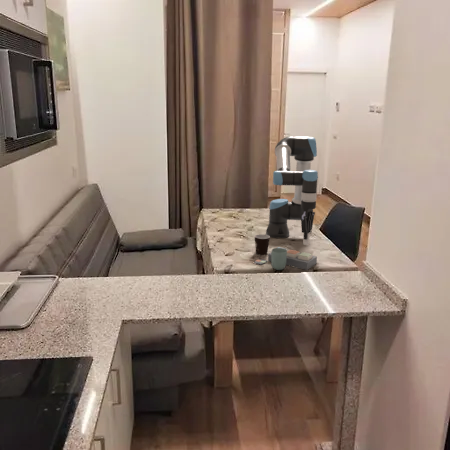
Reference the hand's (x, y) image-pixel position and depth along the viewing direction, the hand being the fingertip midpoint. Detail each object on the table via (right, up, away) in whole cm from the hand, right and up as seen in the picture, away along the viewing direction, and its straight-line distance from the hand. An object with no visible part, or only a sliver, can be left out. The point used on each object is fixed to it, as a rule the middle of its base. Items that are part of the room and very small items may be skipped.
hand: (306, 244), depth 235 cm
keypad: (-6, -10, +7) cm, 14 cm away
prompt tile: (-23, -10, +6) cm, 26 cm away
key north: (0, -9, +3) cm, 9 cm away
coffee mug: (-21, -6, +23) cm, 32 cm away
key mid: (-6, -8, +7) cm, 12 cm away
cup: (-15, -12, -2) cm, 19 cm away
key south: (-12, -7, +11) cm, 18 cm away
